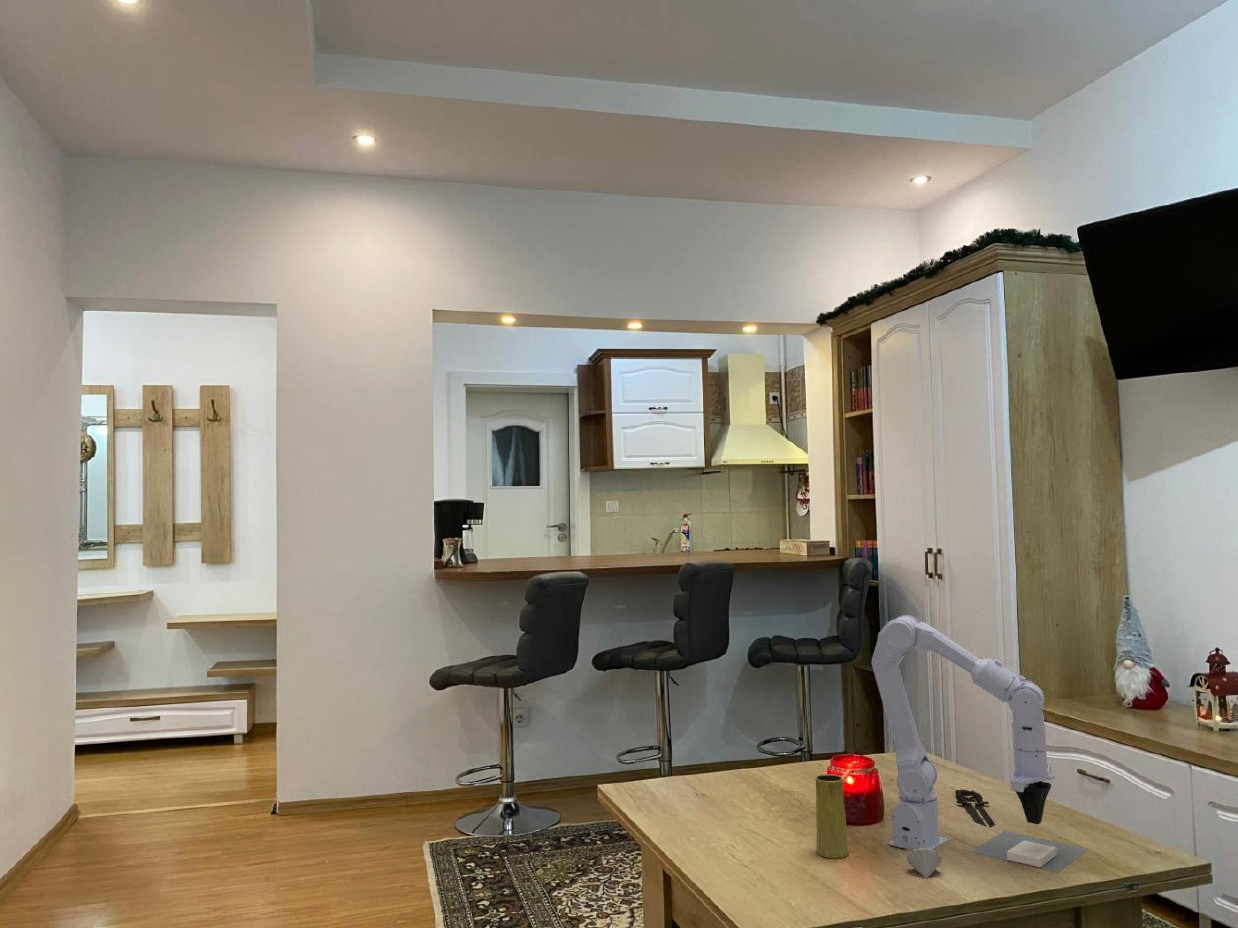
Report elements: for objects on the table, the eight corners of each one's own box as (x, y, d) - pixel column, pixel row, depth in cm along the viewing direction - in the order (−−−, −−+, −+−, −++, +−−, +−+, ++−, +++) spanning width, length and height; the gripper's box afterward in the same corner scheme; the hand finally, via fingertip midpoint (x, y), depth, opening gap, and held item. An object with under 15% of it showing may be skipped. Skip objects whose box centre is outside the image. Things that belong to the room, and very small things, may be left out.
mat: (1058, 874, 162) (1058, 872, 162) (969, 854, 173) (969, 851, 173) (1088, 850, 173) (1088, 848, 173) (1004, 832, 185) (1004, 830, 185)
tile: (1057, 856, 170) (1040, 868, 164) (1024, 848, 174) (1007, 860, 168) (1056, 847, 170) (1040, 859, 164) (1023, 840, 174) (1006, 851, 169)
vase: (825, 860, 172) (822, 783, 173) (810, 849, 178) (807, 775, 179) (854, 856, 174) (851, 779, 175) (838, 846, 180) (835, 771, 181)
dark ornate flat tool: (999, 833, 186) (998, 826, 186) (964, 831, 187) (963, 824, 188) (983, 795, 211) (983, 789, 211) (952, 794, 213) (952, 788, 213)
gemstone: (912, 866, 161) (909, 840, 165) (905, 885, 164) (902, 859, 168) (948, 872, 160) (944, 846, 164) (940, 890, 164) (937, 864, 168)
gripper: (1036, 759, 164) (1041, 837, 163) (1065, 744, 174) (1070, 817, 173) (997, 753, 169) (1002, 828, 168) (1028, 739, 179) (1032, 809, 178)
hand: (1034, 822), depth 171 cm, fingers closed
